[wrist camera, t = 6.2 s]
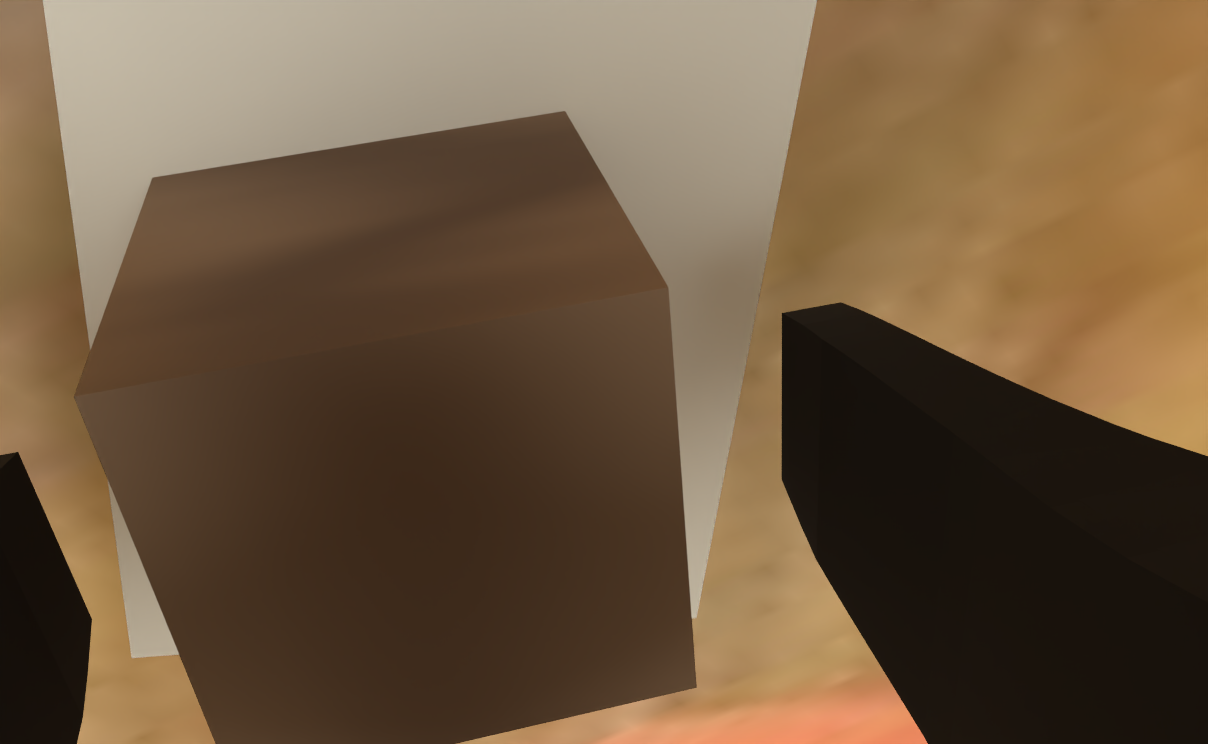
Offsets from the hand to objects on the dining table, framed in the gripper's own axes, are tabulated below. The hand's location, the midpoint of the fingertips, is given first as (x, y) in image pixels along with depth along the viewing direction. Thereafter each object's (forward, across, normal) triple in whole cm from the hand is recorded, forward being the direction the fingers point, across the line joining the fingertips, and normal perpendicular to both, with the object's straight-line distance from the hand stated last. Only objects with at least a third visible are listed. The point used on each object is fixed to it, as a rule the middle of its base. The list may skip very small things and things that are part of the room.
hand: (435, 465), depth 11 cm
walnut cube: (+3, 0, 0) cm, 3 cm away
